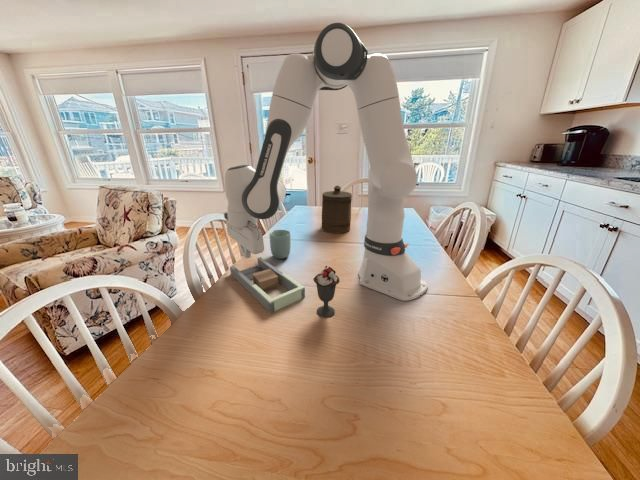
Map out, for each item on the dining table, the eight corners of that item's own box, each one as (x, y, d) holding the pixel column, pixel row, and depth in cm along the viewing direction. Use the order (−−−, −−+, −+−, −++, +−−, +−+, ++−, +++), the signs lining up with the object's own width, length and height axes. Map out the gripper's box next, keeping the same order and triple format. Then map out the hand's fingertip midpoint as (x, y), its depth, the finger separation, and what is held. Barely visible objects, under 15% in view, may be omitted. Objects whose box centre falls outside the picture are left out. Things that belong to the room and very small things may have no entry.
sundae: (320, 323, 65) (321, 270, 59) (309, 308, 70) (308, 259, 65) (342, 315, 67) (345, 265, 62) (330, 301, 73) (331, 254, 67)
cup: (287, 262, 96) (286, 237, 92) (268, 260, 98) (266, 235, 94) (293, 253, 103) (292, 230, 100) (275, 251, 105) (273, 228, 101)
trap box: (304, 297, 75) (304, 287, 74) (270, 313, 68) (269, 302, 67) (261, 264, 94) (260, 256, 93) (231, 274, 87) (229, 265, 86)
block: (278, 287, 80) (278, 276, 79) (260, 293, 77) (259, 282, 76) (270, 279, 85) (269, 268, 83) (253, 284, 82) (252, 273, 80)
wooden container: (352, 225, 137) (354, 184, 129) (347, 234, 124) (349, 189, 116) (325, 223, 141) (326, 182, 132) (318, 231, 127) (318, 187, 119)
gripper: (267, 224, 76) (270, 265, 81) (239, 209, 91) (242, 245, 96) (248, 228, 72) (251, 271, 78) (221, 212, 87) (226, 249, 92)
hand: (246, 256), depth 87 cm, fingers closed
